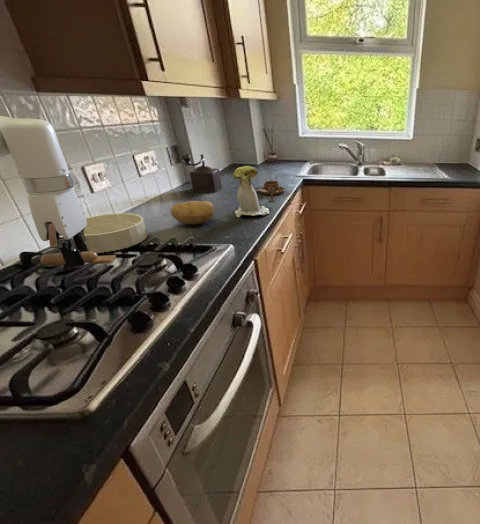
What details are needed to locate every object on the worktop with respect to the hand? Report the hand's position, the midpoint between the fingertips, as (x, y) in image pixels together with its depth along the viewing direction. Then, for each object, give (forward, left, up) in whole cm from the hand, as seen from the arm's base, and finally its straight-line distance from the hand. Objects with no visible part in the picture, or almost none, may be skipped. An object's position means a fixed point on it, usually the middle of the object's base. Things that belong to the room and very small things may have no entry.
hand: (79, 262), depth 77 cm
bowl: (-5, +29, -7) cm, 30 cm away
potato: (+17, +41, -7) cm, 45 cm away
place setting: (+43, +76, -7) cm, 87 cm away
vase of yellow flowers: (+36, +49, -7) cm, 61 cm away
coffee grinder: (+14, +87, -7) cm, 88 cm away
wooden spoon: (0, 0, 0) cm, 0 cm away
